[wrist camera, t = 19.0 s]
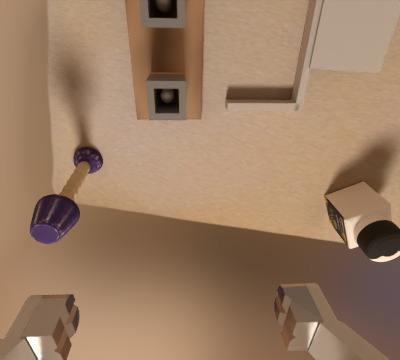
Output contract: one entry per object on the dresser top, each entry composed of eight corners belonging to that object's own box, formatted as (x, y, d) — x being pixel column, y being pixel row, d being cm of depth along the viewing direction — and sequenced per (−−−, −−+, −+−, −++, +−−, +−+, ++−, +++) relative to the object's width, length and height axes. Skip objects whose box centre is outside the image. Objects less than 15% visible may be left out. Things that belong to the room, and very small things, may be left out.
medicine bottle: (323, 194, 47) (363, 242, 37) (363, 180, 46) (416, 224, 36) (329, 222, 51) (367, 273, 40) (367, 209, 50) (416, 258, 39)
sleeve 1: (184, -18, 30) (185, -28, 24) (184, 27, 32) (185, 27, 27) (144, -20, 29) (136, -29, 24) (147, 26, 31) (141, 27, 26)
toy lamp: (106, 149, 40) (64, 217, 26) (107, 175, 42) (69, 252, 28) (73, 145, 40) (12, 214, 25) (75, 172, 42) (21, 249, 28)
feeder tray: (394, -63, 30) (433, -79, 25) (344, 106, 39) (366, 117, 35) (237, -71, 28) (248, -89, 24) (225, 106, 38) (231, 117, 33)
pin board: (204, -66, 29) (209, -84, 24) (200, 116, 39) (203, 129, 34) (119, -70, 28) (107, -89, 23) (138, 116, 38) (132, 130, 33)
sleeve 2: (185, 72, 34) (186, 81, 29) (185, 106, 37) (186, 120, 31) (150, 72, 34) (145, 80, 29) (153, 106, 36) (148, 120, 31)
